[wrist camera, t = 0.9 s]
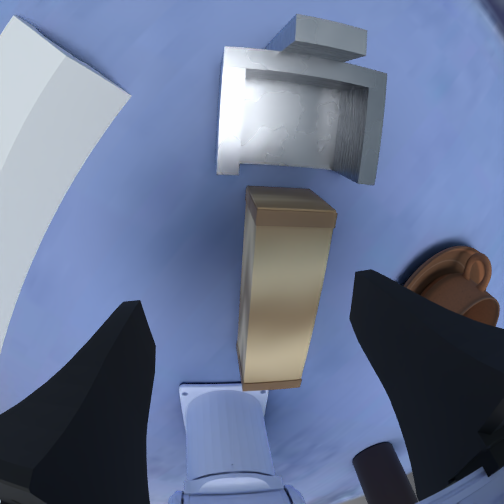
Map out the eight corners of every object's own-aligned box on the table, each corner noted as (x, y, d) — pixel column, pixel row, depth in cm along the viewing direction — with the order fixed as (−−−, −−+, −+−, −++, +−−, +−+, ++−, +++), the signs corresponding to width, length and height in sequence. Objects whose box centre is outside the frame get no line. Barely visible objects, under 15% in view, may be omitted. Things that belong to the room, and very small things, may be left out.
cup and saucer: (382, 255, 22) (426, 298, 17) (483, 226, 23) (528, 254, 17) (374, 361, 28) (401, 406, 22) (463, 324, 28) (494, 358, 23)
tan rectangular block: (286, 346, 25) (299, 388, 21) (236, 348, 24) (242, 392, 20) (310, 189, 19) (337, 211, 15) (246, 185, 19) (257, 207, 15)
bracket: (341, 169, 19) (398, 198, 13) (215, 160, 18) (218, 186, 12) (352, 61, 16) (415, 47, 10) (222, 43, 15) (230, 6, 9)
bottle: (343, 462, 38) (380, 566, 20) (376, 439, 36) (423, 548, 18) (367, 463, 40) (403, 556, 22) (398, 442, 39) (442, 537, 21)
